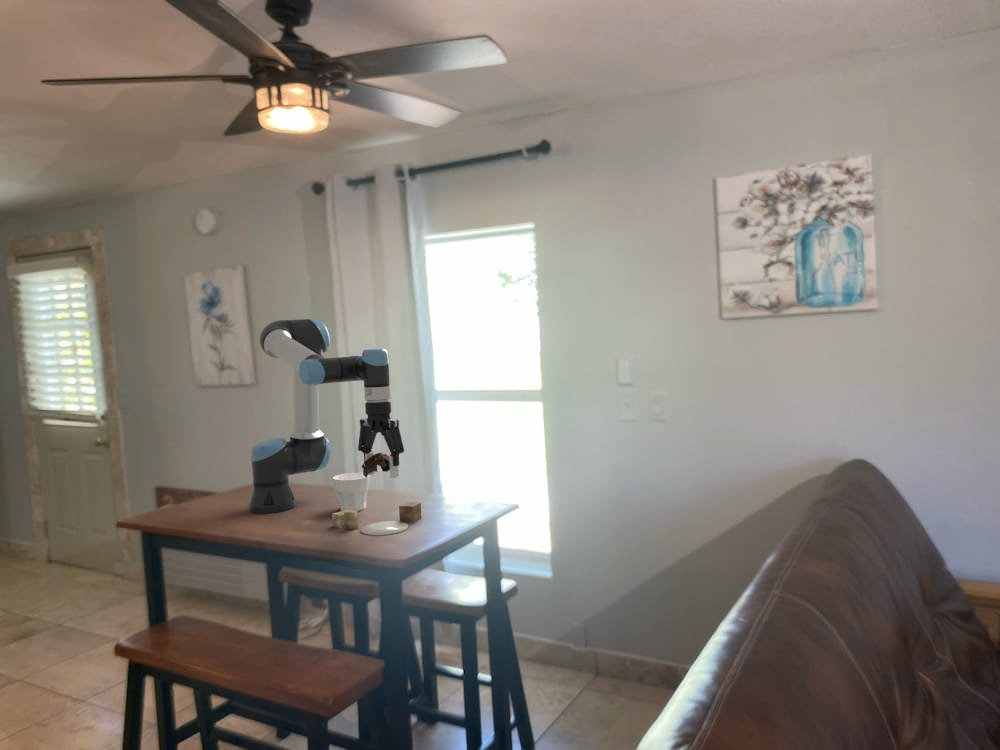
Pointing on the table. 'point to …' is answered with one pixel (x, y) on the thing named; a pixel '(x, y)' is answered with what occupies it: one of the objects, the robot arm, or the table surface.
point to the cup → (352, 490)
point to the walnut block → (410, 512)
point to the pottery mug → (376, 463)
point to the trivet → (384, 528)
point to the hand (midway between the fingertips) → (382, 475)
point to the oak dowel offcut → (351, 520)
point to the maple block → (339, 519)
